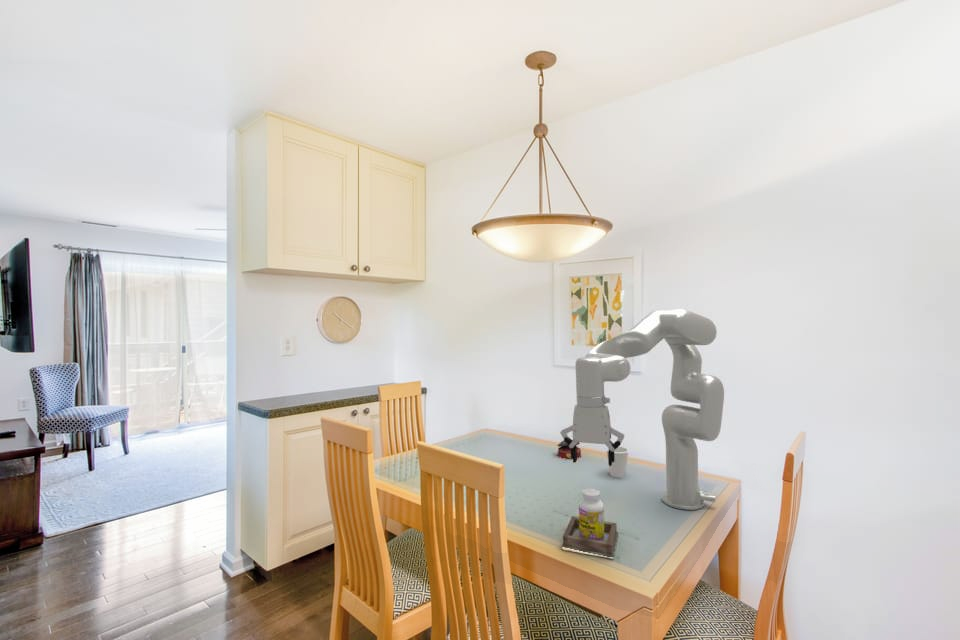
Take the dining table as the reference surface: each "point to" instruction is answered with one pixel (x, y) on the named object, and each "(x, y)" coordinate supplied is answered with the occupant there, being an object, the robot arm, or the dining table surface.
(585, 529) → the supplement bottle
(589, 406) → the robot arm
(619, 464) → the dixie cup
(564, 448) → the canned food
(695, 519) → the dining table surface
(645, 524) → the dining table surface
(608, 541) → the shallow square brown tray
